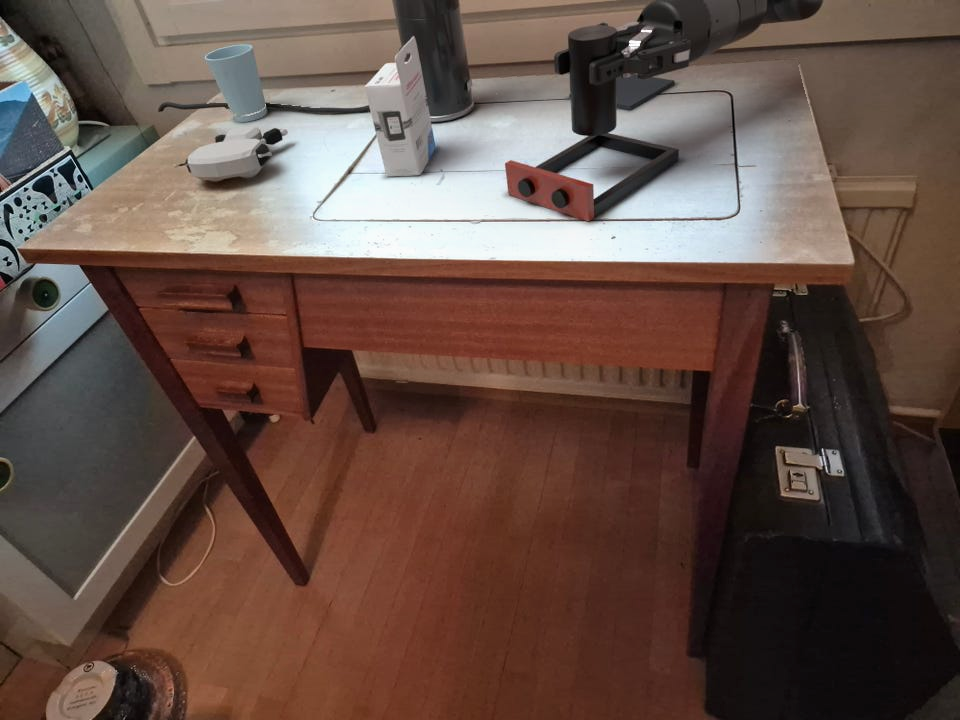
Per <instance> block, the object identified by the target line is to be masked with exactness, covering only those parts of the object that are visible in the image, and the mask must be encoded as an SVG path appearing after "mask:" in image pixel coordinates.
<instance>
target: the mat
mask: <svg viewBox="0 0 960 720" xmlns="http://www.w3.org/2000/svg"><path fill="white" fill-rule="evenodd" d="M675 83H676V81H675V79H669V78H662V77H657V76H653V77H650V78H646V79H639V78H637V73H635V74H634V75H632V76H631V77H628V78H625V77H621V76H620V77H617V109H622V110H627V111H632V110H633V109H635V108H636V107H638V106H640V105H642V104H644V103H645V102H647V101H649V100H650V99H652V98H655V96H657V95H659V94H660V93H662V92H664V91H666V90H667V89H669V88H671V87H673V86H674V85H675ZM568 97H569V99H571V97H570V93H569V95H568Z"/></svg>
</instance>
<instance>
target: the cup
mask: <svg viewBox="0 0 960 720" xmlns="http://www.w3.org/2000/svg"><path fill="white" fill-rule="evenodd" d="M204 60H205V63H206V64H207V66H208V68H209V70H210V72H211V74H212V75H213V78H214V80H215V82H216V84H217V86H218V88H219V90H220V92H221V94H222V96H223V98H224V100H225V102H227V104H228V106H229V107H228V109H229V110H230V112H231V114H232V113H233V114H236V115H245V114H250V113H254V112H257V111H259V110H261V109H262V108H264V107H265V104H266V103H267V102H266V99H265V95H264V91H263V86H262V82H261V78H260V74H259V68H258V65H257V60H256V55H255V51H254V47H253V45H251V44H245V43H243V44H234V45H229V46H225V47H221V48H217V49H215V50H213V51H210V52H208V53H206V55H205V56H204ZM233 114H232V116H233V118H234V120H235V121H236V122H239V123H248V122H253V121H256V120H259V119H261V118H263V117H265V116H266V115H267V114H268V109H267V108H265V109H264V110H263V111H261V112H259V113H256V114H253V115H250V116H243V117H236V116H234V115H233Z"/></svg>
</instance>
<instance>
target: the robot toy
mask: <svg viewBox="0 0 960 720" xmlns="http://www.w3.org/2000/svg"><path fill="white" fill-rule="evenodd" d="M288 133H289V132H288V130H287V128H276V127H273V128H271V129H268V130H267V131H265V132H264V133H263V134H262V132H261V129H260V128H259V127H258V126H252V125H249V126H241V127H235V128H232V129H230V130H229V131H228V132H227V134H218V135H216V136H215V137H214V141H215V142H213V143H209V144H206V145H203V146H200V147H197V148H196V149H195V150H194V151H193V152H191V153H190V154H189V155H188V156H187V158H186V160H185V162H183V163H175V164H173V168H175V169H176V168H179V167H183V166H186V168H187V170H188V173H190V174H191V175H192V177H194V178H196V179H199V180H201V181H202V180H203V181H204V180H207V181H210V182H220V181H223V180H224V179H231V178H237V177H241V178H243V179H251V178H253V177H255V176H257V174H259V173H260V171H261V169H262V168H263V167H264V166H265V164H266V163H268V161H269V160H270V159H271V157H272V156H273V154H272V151H270V149H269V146H268V145H270V146H273V145H276V144H278V143H279V142H281V141H283V140H284V139H283V137H284V136H287V135H288Z"/></svg>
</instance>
